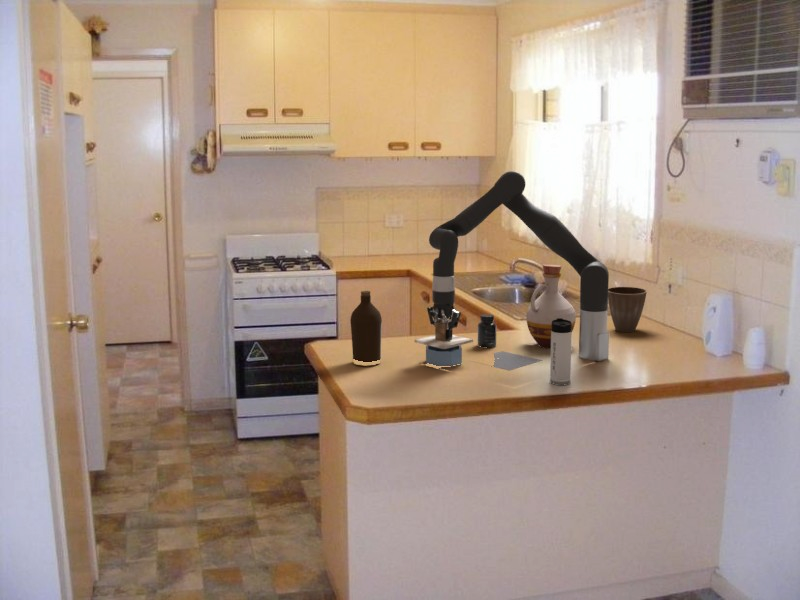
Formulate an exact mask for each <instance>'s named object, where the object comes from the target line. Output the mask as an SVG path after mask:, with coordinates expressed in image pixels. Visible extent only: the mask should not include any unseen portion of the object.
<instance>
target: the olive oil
mask: <svg viewBox="0 0 800 600" xmlns="http://www.w3.org/2000/svg"><path fill="white" fill-rule="evenodd" d="M371 297H372V296H371V291H369V290H361V291H360V303H359V304H358V305H357V307H356V308H355V309H354V310H353V311H352V312H351V315H350V333H351V345H352V346H351V347H352V360H353V359H355V360H358V361H363V362H372V361H377V360H380V359H382V358H381V353H382V325H383V324H382V321H383V320H382V315H381V311H379V310H378V309H377V307H376V306H375V305H374V304H373V303H372V302H371Z"/></svg>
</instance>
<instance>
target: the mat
mask: <svg viewBox="0 0 800 600" xmlns="http://www.w3.org/2000/svg"><path fill="white" fill-rule="evenodd" d="M493 354H494V358H495V360H494V361H495V362H494V365H493V366H494V367H493V368H496V369H501V370H506V371H512V370H516V369H518V368H523V367H526V366H530V365H533V364H535V363H539V362H542V361H544V360H543V359H539V358H534V357H531V356H525V355H522V354H521V355H520V354H517V353H513V352H507V351H503V350H501V351H499V352H494V353H493ZM497 358H499V359H497Z"/></svg>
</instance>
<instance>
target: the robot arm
mask: <svg viewBox="0 0 800 600" xmlns="http://www.w3.org/2000/svg"><path fill="white" fill-rule="evenodd" d="M525 188H526V180H525V177H524V175H523V174H522V173H520V172H518V171H515V170H509V171H506V172H504V173H503V174H502V175H500V177H498V179H497V181H496V182H495V183H494V184H493V186H492V187H491V188H490V189H489V190H488V191H487V192H485V194H483V195H482V196H481V197H480V198H478V199H477V200H475V201H474V202H473V203H471V204H470V205H468V206H467V207H465V209H463V210H462V211H461V212H459V214H457V215H456V216H455V217H454V218H452V219H450V220H447V221H446V222H444V223H442V224H440V225H439V226H436V228H434V229H433V230H432V231H431V233H430V235H429V236H428V243H429V244H430V246H431V248H433V249H435V250H439V254H438V257H435V258H434V260H433V263H432V265H433V266H432V271H433V272H432V274H433V276H432V282H431V285H432V289H431V290H432V292H431V293H432V303H433V306H428V307H427V308H426V311H427V314H428V320H429V322H430V325H433V326H434V327H435V322H439V321H444V323H445V324H446V340H451V339H452V335H453V329H456V328H457V327H458V325H459V322H460V318H461V315H462V313H461V311H459V310H458V311H457V310H455V306H454V304H455V302H456V280H455V262H456V261H455V260H456V257H457V253H458V249H459V237H463V236H464V237H465V236H466V235H468V234H470V233H471V232H472V231H473V230H475V229H476V228H477V227H479V225H480V224H482V223H483V222H484V221H485V220H486V219H487V218H488V217H489V216H490V215H491V214H492V213H493V212H494V211H495V210H497V209H498V208H499V207H500V206H501V205H503V206H504V207H505V208H507V209H508V210H509V211H511V212H512V213H513V214H514V215H515V216H517V218H518V219H520V220H521V221H522V223H523V224H525V226H526V227H527V228H529V230H530V231H532V232H533V233H534V235H535V236H536V237H537V238H538V239H539V240H540V241H541V242H542V243H543V244H544V245H545V246H546V247H547V248H548V249H549V250H551V251H552V252H553V253H555V254H556V255H558V256H559V257H560V258H562V259H563V260H565V261H566V262H567V263H568V264H569V265H570V266H571V267H572V268H573V270H574V271H576V273H577V274H578V275H579V278H580V282H579V283H580V287H579V288H580V289H579V291H580V293H579V296H580V297H579V332H578V333H579V335H578V336H579V337H578V357H579V358H580V359H582V360H590V361H595V362H601V361H605V360H608V359H609V355H610V354H609V352H610V351H609V349H610V331H608V309H609V302H608V289H609V281H610V278H609V277H610V275H609V274H610V273H609V270H608V268H607V266H606V265H605V264H604V263H602V262H601V261H600V260H598V258H597V257H595V256H594V255H593V254H592V253H590V252H589V251H588V250H587V249H586V248H585V247H584V246H583V245H582V244H581V243H580V242H579V240H578V239H577V237H576V236H575V235H574V234H573V233H572V232H571V231H570V230H569V228H567V226H566V225H565V224H564V223H563V222H562V221H561V220H560V219H559V218H557V216H555V215H554V214H552V212H549V211H547V210H545V209H544V208H540V206H537V205H535V204H534V203H532V202H531V201H530V200H529V199H528V198H527V197H526V196H525V194H524V191H525ZM449 323H450V325H449Z"/></svg>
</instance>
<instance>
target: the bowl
mask: <svg viewBox="0 0 800 600" xmlns="http://www.w3.org/2000/svg"><path fill="white" fill-rule="evenodd" d="M462 357H463V348H462V345H459V346H455V347H451V348H447V349H441V348H437V347H433V346H429V345H425V364H426V363H429V364H433V365H436V366H453V365H457V364H461V363H462V364H463V359H462Z"/></svg>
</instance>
